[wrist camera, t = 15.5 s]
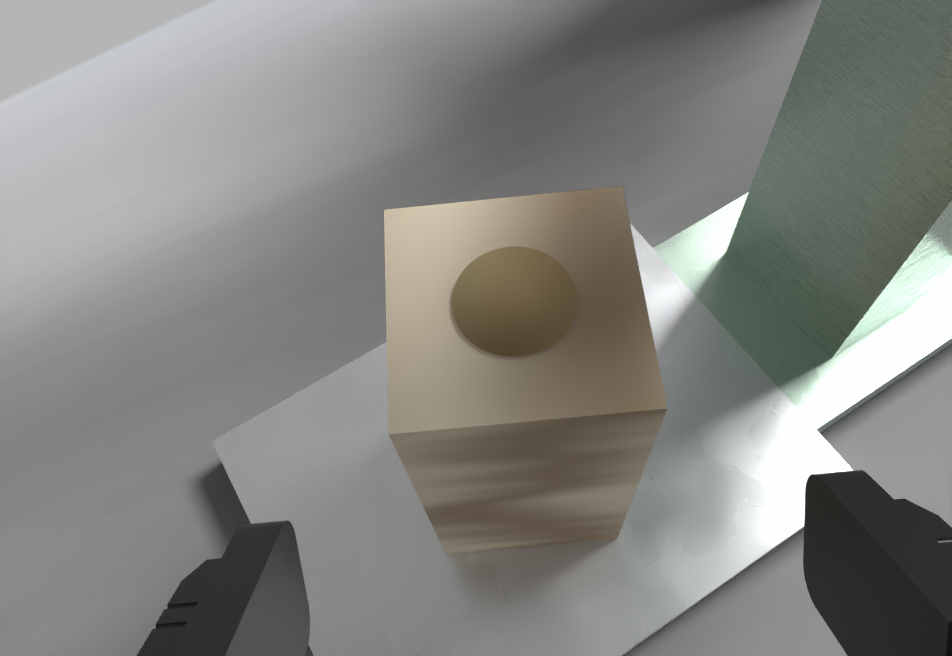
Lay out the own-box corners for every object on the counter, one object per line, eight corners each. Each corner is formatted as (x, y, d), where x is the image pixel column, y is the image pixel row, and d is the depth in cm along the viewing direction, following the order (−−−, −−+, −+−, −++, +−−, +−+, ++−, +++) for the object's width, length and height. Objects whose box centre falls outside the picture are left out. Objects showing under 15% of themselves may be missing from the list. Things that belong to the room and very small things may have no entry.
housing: (445, 553, 23) (388, 432, 14) (437, 396, 25) (383, 207, 16) (617, 539, 23) (668, 406, 14) (592, 381, 25) (622, 183, 16)
